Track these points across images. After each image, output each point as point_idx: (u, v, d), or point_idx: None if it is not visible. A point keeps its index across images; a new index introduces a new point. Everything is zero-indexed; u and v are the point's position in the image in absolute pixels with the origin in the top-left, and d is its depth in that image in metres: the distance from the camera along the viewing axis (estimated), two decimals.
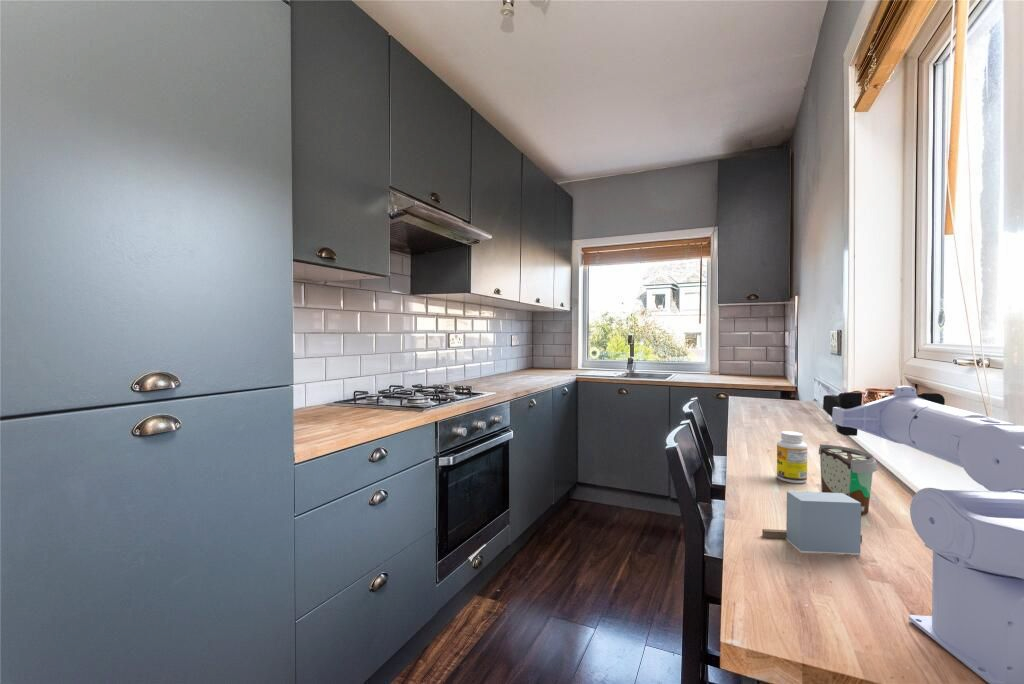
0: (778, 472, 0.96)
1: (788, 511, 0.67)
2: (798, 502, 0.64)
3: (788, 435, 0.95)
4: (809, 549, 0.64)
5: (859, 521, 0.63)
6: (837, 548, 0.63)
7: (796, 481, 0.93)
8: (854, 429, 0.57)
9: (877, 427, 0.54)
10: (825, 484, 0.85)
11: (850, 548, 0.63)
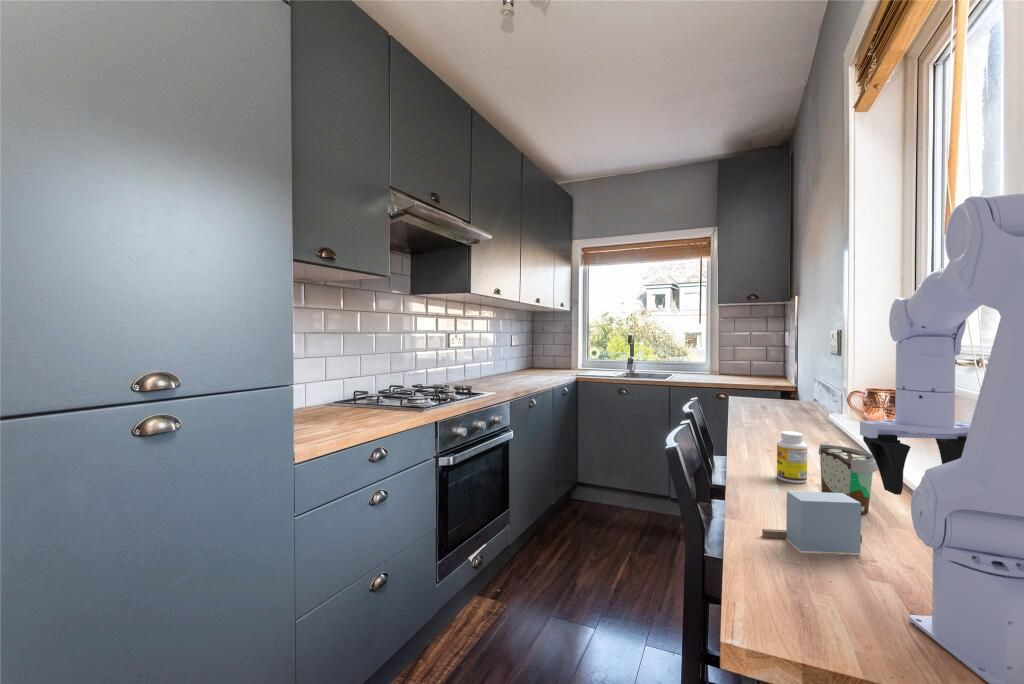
0: (778, 472, 0.96)
1: (788, 511, 0.67)
2: (798, 502, 0.64)
3: (788, 435, 0.95)
4: (809, 549, 0.64)
5: (859, 521, 0.63)
6: (837, 548, 0.63)
7: (796, 481, 0.93)
8: (901, 443, 0.57)
9: None
10: (825, 484, 0.85)
11: (850, 548, 0.63)
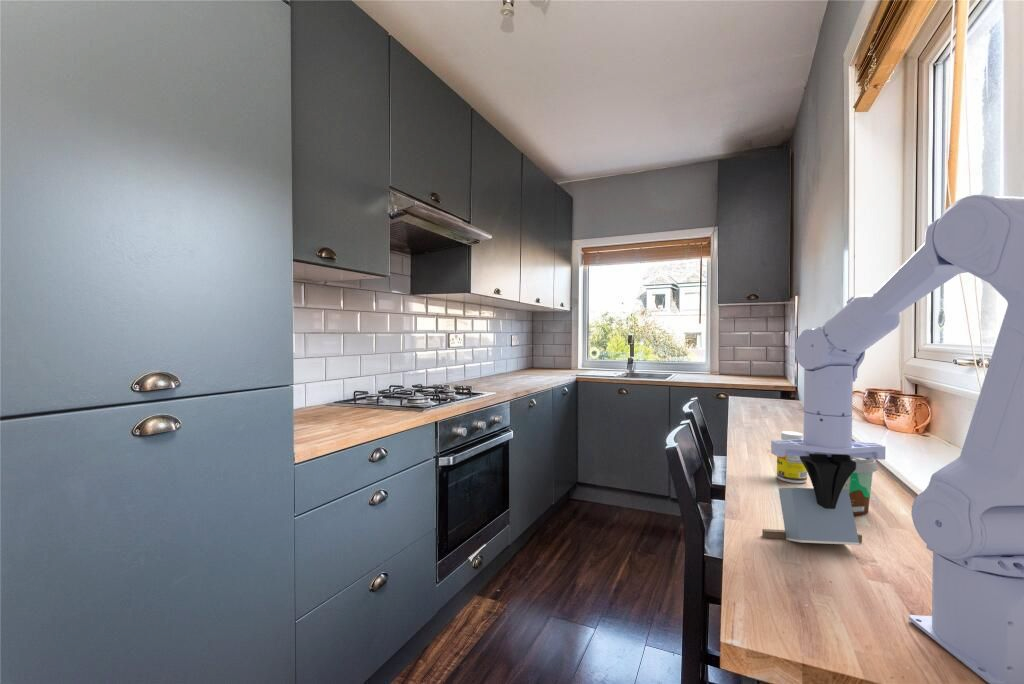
0: (778, 472, 0.96)
1: (783, 507, 0.69)
2: (789, 491, 0.67)
3: (788, 435, 0.95)
4: (808, 538, 0.64)
5: (850, 508, 0.65)
6: (835, 537, 0.64)
7: (796, 481, 0.93)
8: (829, 463, 0.62)
9: None
10: None
11: (848, 537, 0.63)
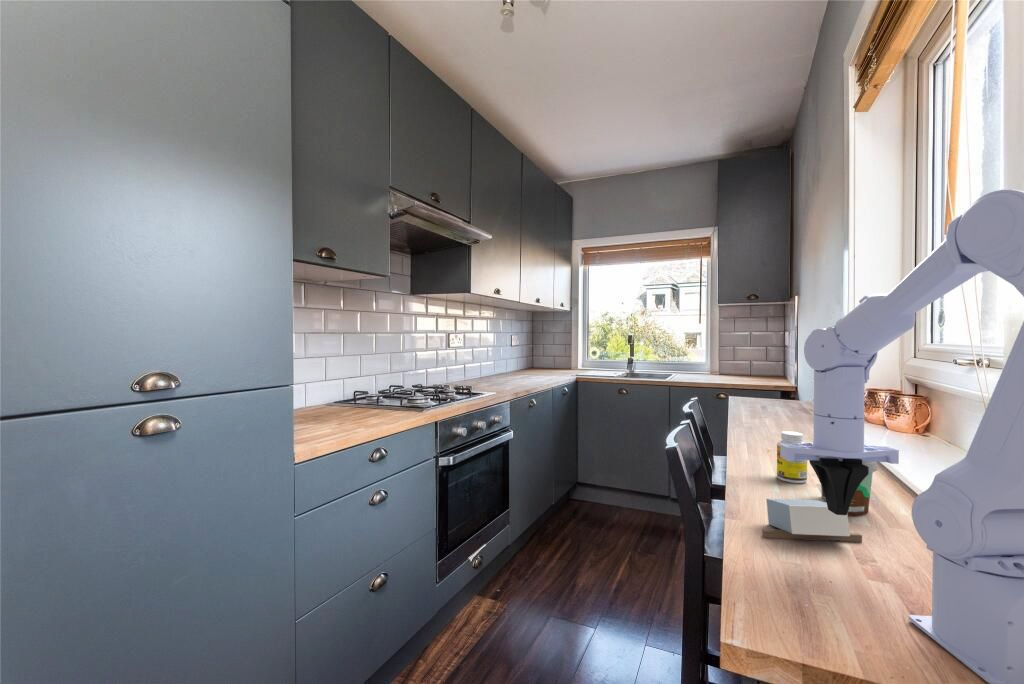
0: (778, 472, 0.96)
1: (777, 524, 0.70)
2: (768, 504, 0.73)
3: (788, 435, 0.95)
4: (796, 505, 0.67)
5: (825, 502, 0.71)
6: (821, 505, 0.67)
7: (796, 481, 0.93)
8: (841, 467, 0.60)
9: None
10: None
11: None
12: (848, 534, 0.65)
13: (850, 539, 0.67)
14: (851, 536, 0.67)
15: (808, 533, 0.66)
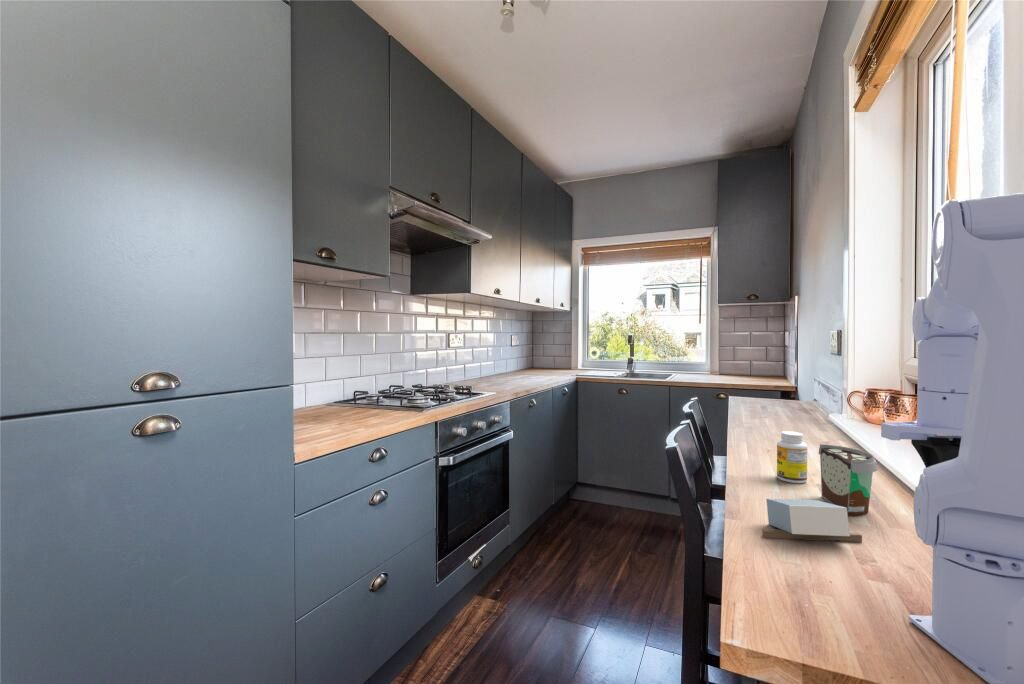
0: (778, 472, 0.96)
1: (777, 524, 0.70)
2: (768, 504, 0.73)
3: (788, 435, 0.95)
4: (796, 505, 0.67)
5: (825, 502, 0.71)
6: (821, 505, 0.67)
7: (796, 481, 0.93)
8: (954, 446, 0.55)
9: None
10: (825, 484, 0.85)
11: (833, 506, 0.67)
12: (848, 534, 0.65)
13: (850, 539, 0.67)
14: (851, 536, 0.67)
15: (808, 533, 0.66)
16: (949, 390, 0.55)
